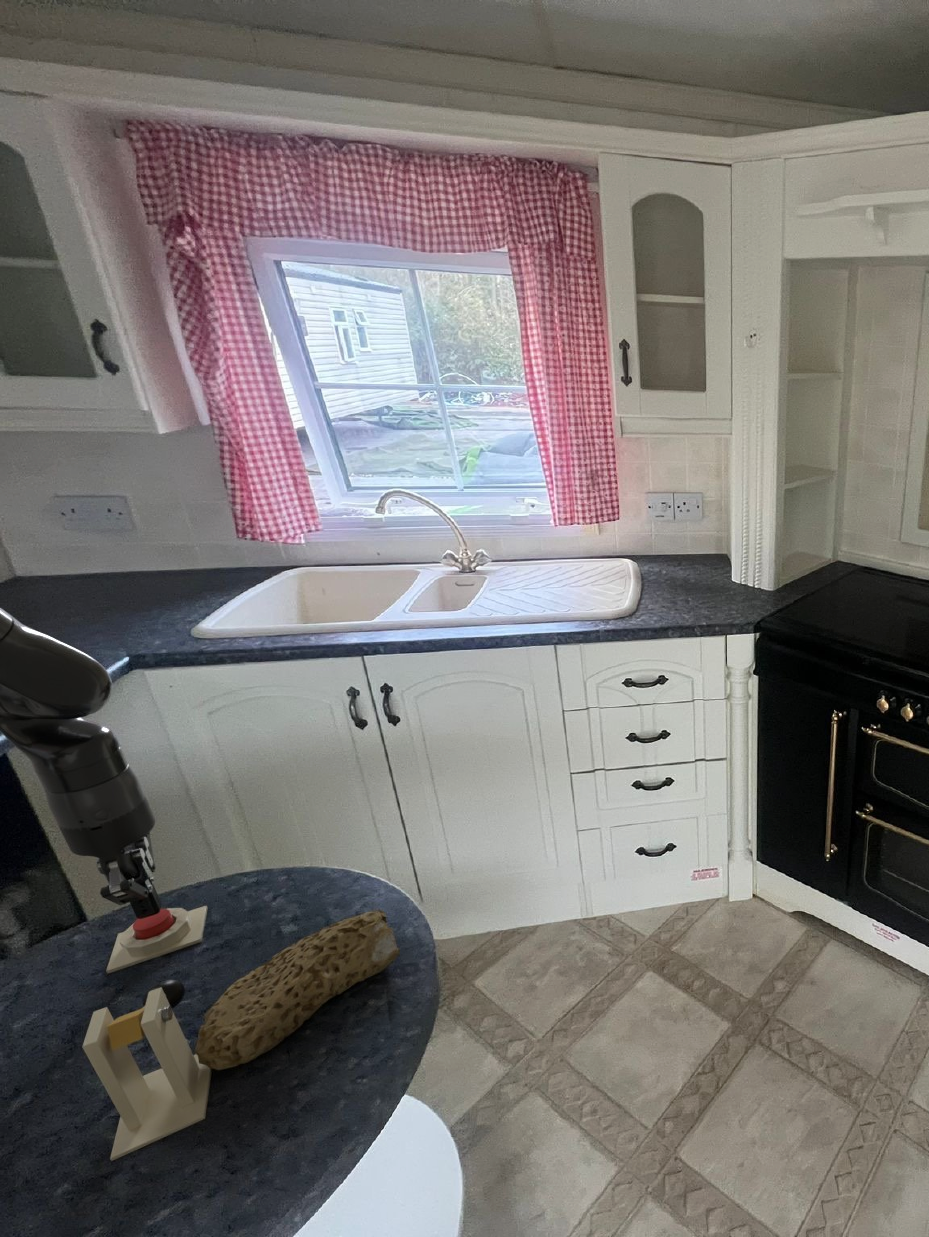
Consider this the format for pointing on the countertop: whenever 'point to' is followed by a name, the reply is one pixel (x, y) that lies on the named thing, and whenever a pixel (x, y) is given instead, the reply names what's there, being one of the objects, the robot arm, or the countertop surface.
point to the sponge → (293, 988)
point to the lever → (130, 1024)
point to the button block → (158, 939)
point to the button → (153, 925)
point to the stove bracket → (149, 1077)
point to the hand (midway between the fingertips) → (150, 912)
